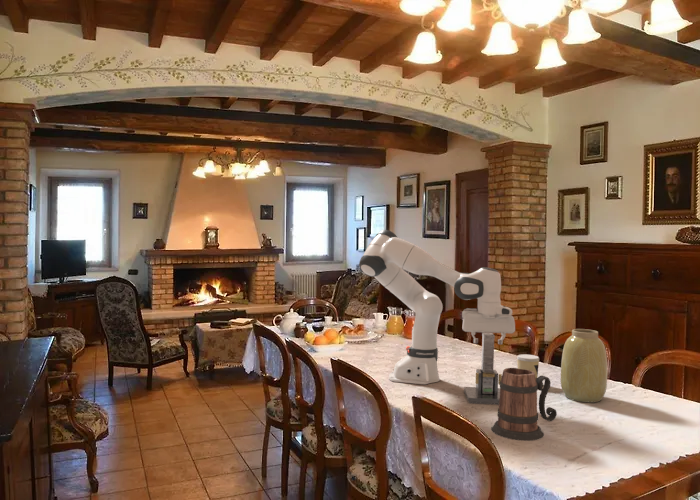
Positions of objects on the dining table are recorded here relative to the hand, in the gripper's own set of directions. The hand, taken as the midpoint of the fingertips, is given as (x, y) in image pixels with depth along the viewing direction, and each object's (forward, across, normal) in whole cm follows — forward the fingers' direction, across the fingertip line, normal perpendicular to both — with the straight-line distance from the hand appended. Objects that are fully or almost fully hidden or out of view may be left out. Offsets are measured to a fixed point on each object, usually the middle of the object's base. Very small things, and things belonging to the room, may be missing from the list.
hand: (488, 343), depth 223 cm
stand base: (+22, 0, 0) cm, 22 cm away
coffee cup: (+22, +21, +25) cm, 39 cm away
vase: (+22, +39, +7) cm, 45 cm away
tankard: (+22, +8, -36) cm, 42 cm away
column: (+19, 0, 0) cm, 19 cm away
